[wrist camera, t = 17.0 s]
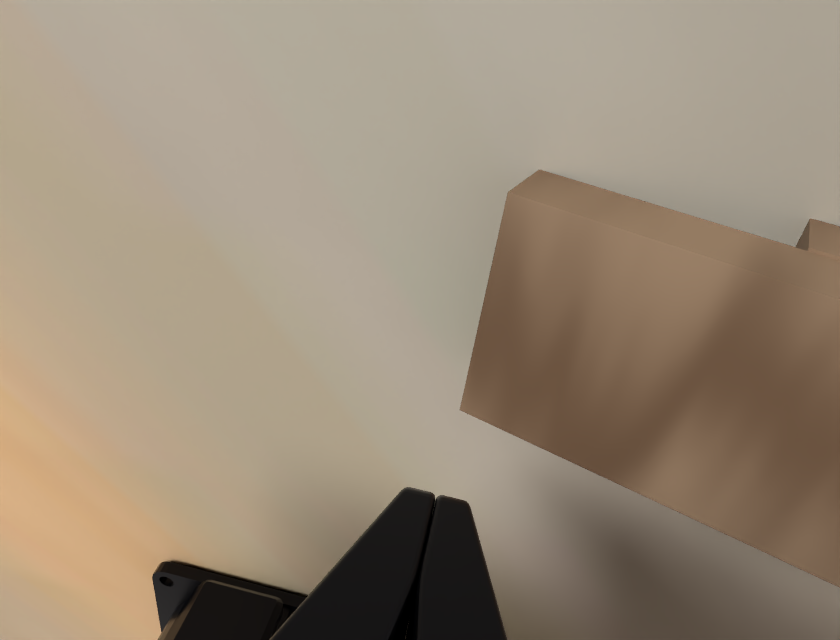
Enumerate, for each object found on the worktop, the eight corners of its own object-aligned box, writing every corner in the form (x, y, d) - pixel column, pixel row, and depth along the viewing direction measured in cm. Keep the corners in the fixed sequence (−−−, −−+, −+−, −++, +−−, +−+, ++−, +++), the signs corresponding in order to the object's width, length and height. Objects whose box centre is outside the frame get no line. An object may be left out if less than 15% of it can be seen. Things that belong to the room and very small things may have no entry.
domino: (489, 373, 15) (867, 538, 12) (459, 410, 14) (871, 602, 11) (539, 169, 12) (1041, 322, 9) (507, 192, 11) (1074, 375, 8)
